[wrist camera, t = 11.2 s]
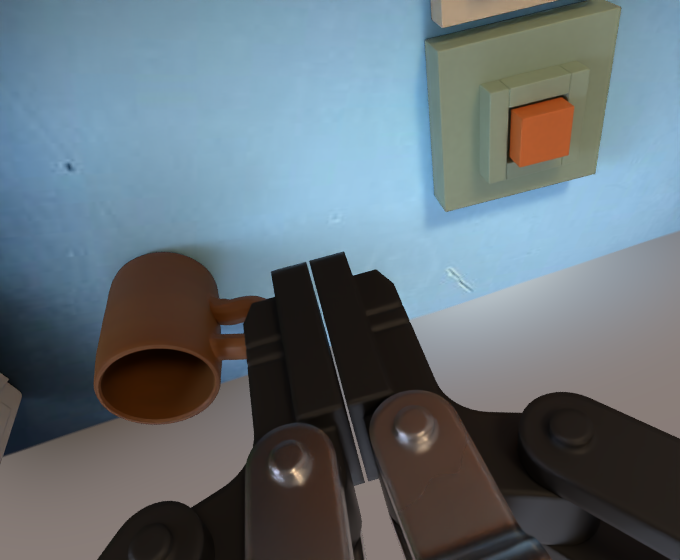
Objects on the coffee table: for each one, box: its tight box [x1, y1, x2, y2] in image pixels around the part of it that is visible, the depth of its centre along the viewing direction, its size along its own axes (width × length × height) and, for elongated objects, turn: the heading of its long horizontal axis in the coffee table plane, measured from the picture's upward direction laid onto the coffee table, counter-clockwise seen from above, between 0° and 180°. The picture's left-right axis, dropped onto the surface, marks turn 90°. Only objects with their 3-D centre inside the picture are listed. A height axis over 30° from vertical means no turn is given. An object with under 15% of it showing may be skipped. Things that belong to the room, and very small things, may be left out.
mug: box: [94, 252, 265, 425], centre depth 37 cm, size 12×8×9 cm, turn 105°
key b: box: [509, 97, 574, 167], centre depth 33 cm, size 3×3×2 cm
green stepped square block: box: [425, 0, 621, 212], centre depth 35 cm, size 11×11×4 cm
